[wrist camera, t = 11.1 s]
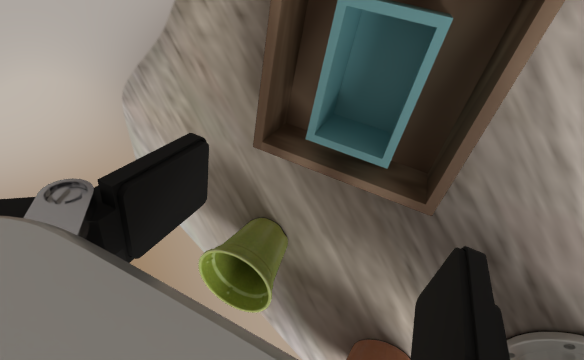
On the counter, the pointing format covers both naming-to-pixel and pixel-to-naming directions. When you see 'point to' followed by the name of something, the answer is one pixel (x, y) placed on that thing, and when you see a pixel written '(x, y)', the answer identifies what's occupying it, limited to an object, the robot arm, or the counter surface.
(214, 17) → the counter surface
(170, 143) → the robot arm
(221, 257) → the plant pot
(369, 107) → the box
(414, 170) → the crate large
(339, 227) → the counter surface
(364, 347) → the potted plant
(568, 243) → the counter surface
